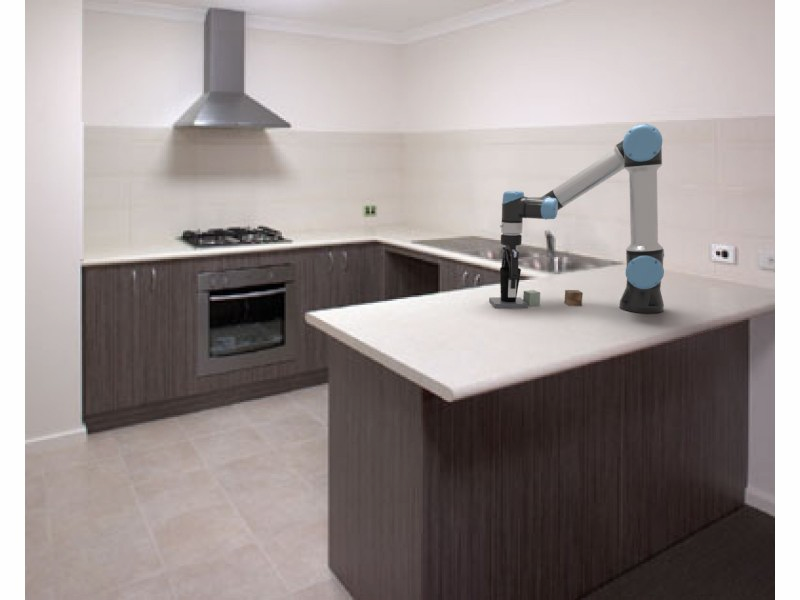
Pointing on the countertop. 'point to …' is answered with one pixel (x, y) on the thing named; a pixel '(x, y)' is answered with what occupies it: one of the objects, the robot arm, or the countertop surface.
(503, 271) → the cup
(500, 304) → the plate
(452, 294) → the countertop surface
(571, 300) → the walnut block
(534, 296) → the sage block
